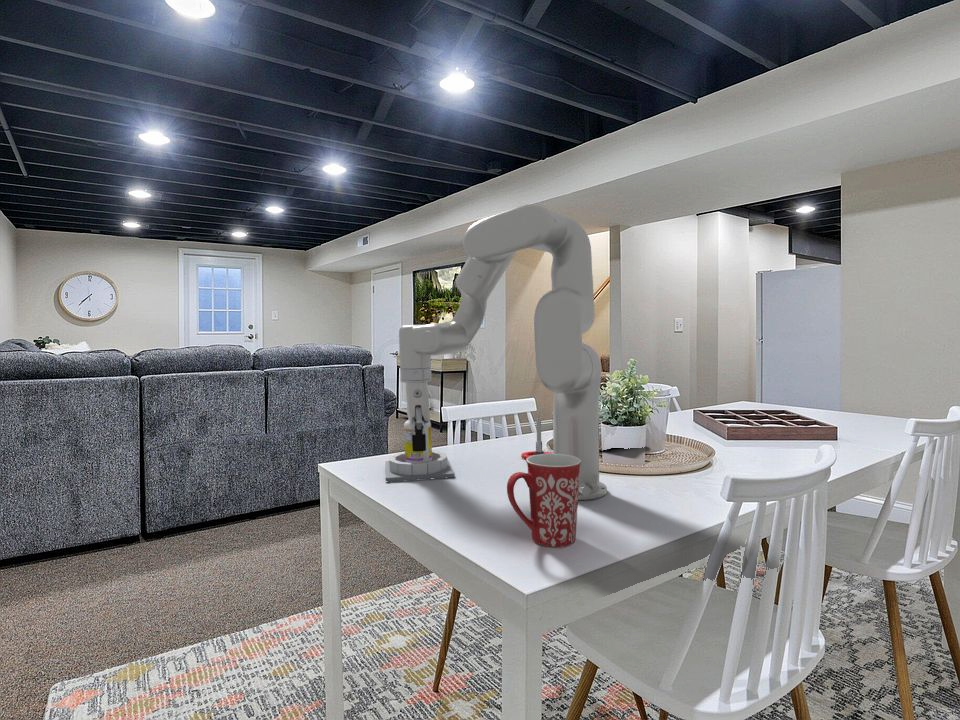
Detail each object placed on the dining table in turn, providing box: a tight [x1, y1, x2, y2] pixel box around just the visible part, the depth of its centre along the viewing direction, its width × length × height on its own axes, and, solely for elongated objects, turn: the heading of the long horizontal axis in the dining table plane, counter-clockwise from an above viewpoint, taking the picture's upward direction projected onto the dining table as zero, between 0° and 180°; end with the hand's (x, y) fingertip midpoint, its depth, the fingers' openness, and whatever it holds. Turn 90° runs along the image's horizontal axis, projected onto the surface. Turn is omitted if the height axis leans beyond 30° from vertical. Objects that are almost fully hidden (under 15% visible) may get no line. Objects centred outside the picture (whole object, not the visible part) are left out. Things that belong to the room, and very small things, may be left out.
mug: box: [506, 453, 581, 548], centre depth 92 cm, size 13×9×14 cm
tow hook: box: [520, 411, 553, 460], centre depth 149 cm, size 8×13×9 cm
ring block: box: [384, 450, 456, 482], centre depth 138 cm, size 16×16×4 cm
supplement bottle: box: [403, 410, 433, 463], centre depth 137 cm, size 7×7×13 cm
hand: (418, 447), depth 138 cm, fingers closed on supplement bottle, 6 cm apart
